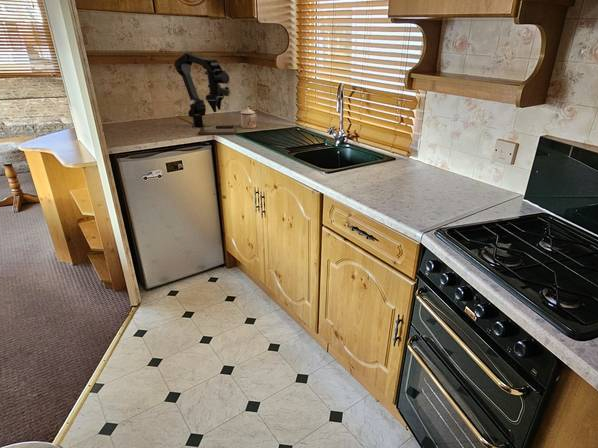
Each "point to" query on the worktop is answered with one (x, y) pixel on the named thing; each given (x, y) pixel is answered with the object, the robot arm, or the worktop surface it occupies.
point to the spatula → (221, 127)
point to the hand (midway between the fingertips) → (217, 111)
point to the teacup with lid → (248, 118)
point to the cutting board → (217, 132)
